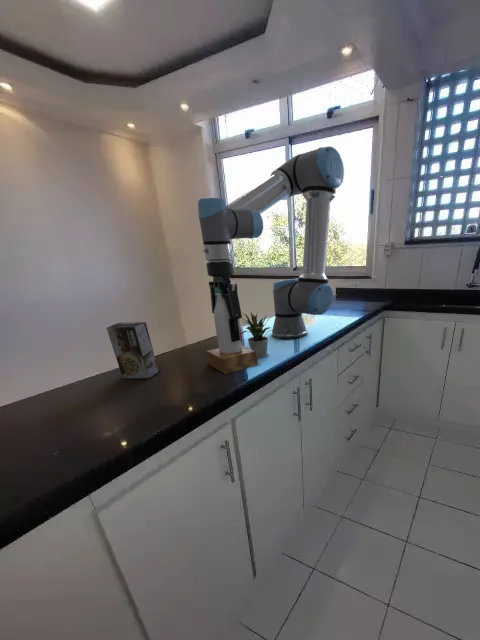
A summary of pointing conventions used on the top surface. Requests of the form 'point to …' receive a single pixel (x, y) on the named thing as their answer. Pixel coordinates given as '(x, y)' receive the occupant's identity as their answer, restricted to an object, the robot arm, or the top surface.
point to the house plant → (257, 335)
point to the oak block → (232, 360)
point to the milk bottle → (225, 327)
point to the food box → (133, 349)
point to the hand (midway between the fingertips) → (229, 338)
